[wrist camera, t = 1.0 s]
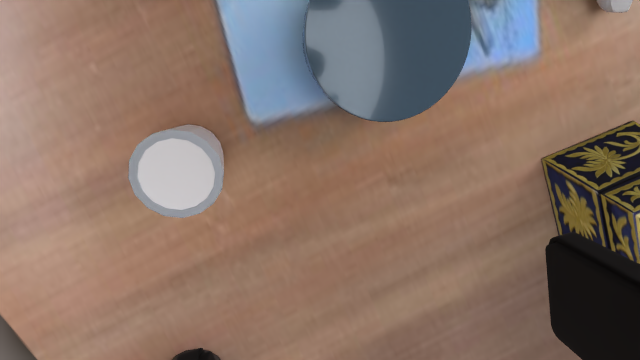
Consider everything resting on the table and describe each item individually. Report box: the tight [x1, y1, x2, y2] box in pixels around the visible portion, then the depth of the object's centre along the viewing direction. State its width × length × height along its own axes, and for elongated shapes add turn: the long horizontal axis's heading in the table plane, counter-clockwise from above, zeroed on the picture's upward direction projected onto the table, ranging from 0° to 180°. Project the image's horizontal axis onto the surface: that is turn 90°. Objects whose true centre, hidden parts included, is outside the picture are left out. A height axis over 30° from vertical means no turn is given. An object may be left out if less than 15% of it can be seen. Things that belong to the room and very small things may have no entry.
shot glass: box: [128, 124, 224, 218], centre depth 32 cm, size 7×7×7 cm
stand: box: [303, 0, 471, 122], centre depth 32 cm, size 13×13×6 cm
